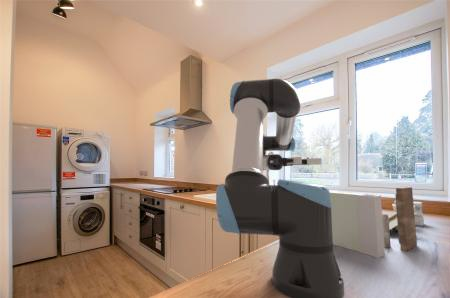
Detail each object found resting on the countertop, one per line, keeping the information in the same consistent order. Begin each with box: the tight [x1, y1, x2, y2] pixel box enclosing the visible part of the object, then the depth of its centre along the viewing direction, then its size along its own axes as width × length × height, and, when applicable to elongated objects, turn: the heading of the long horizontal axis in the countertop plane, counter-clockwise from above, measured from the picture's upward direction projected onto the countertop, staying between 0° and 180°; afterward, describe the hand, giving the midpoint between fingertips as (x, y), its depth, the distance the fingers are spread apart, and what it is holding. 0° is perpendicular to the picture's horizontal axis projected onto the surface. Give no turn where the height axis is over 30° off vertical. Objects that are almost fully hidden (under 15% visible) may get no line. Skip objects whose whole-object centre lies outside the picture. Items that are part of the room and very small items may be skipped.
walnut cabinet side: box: [382, 186, 418, 252], centre depth 77 cm, size 6×11×20 cm, turn 125°
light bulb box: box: [393, 200, 425, 227], centre depth 110 cm, size 11×7×11 cm, turn 46°
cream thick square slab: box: [329, 191, 386, 259], centre depth 74 cm, size 17×5×18 cm, turn 35°
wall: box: [386, 211, 417, 233], centre depth 94 cm, size 16×9×15 cm
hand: (311, 160), depth 88 cm, fingers open, 13 cm apart
